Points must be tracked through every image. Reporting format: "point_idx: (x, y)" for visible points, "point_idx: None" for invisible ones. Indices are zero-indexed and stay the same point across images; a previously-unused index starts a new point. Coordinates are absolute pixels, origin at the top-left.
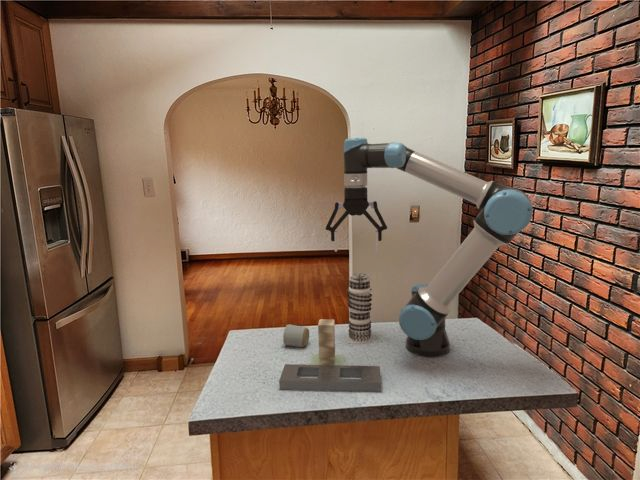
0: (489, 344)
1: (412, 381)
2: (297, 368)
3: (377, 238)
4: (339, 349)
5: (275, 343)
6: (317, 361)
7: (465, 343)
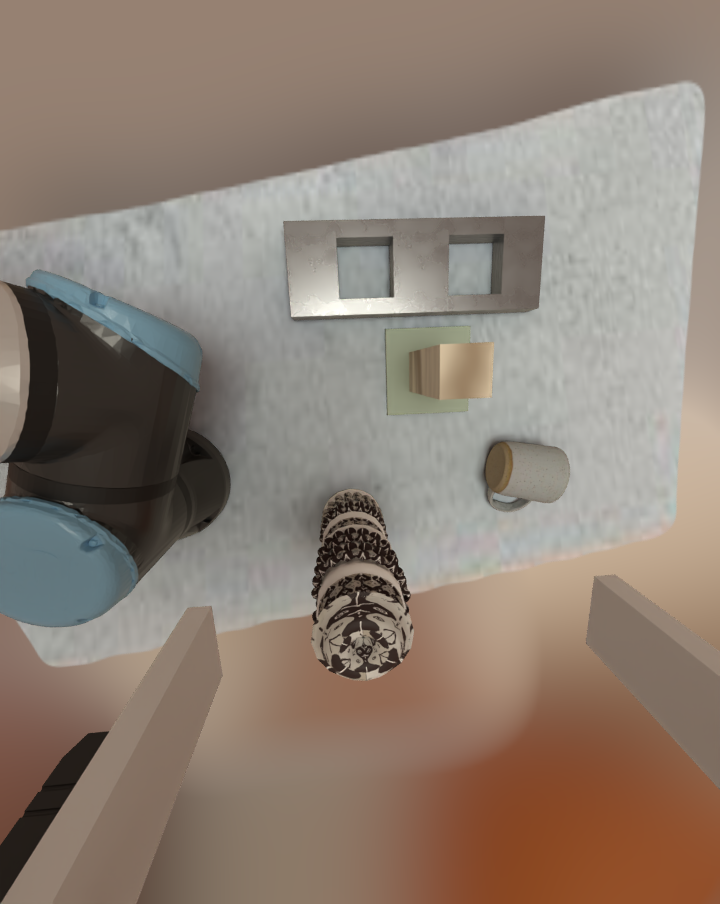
0: None
1: (212, 293)
2: (504, 285)
3: (109, 748)
4: (401, 450)
5: None
6: None
7: None
